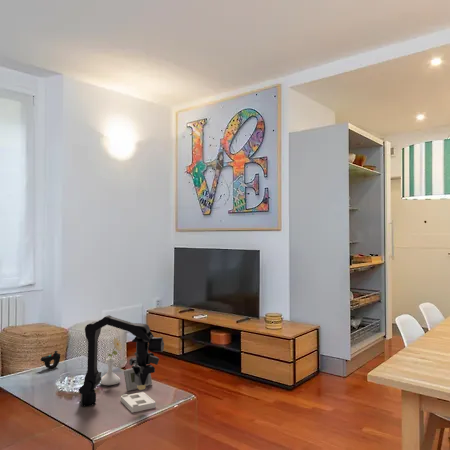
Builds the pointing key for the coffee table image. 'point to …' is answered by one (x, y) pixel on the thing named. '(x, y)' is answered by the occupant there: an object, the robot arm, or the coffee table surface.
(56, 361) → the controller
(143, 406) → the socket
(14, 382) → the coffee table surface
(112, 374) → the flower in vase
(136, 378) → the plug
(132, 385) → the digital clock
